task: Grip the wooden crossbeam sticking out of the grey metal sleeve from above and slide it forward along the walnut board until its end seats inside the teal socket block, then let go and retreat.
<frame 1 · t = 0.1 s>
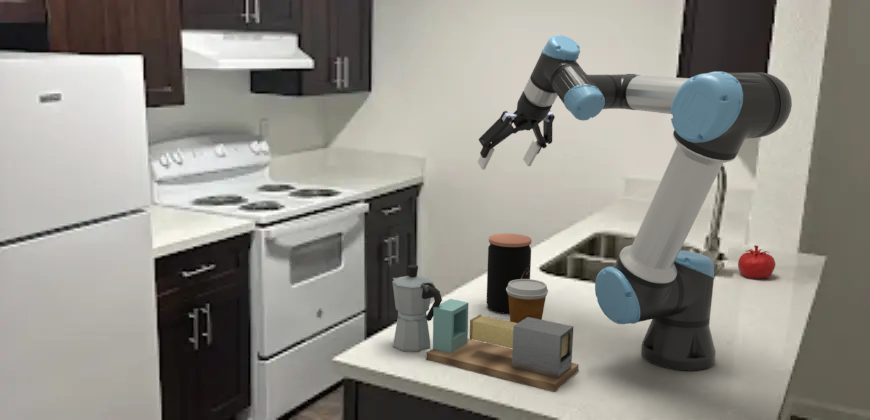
hand: (504, 164, 200), 36 cm above the worktop, tool tilted 35°, fingers open, 13 cm apart
coffee jar: (507, 308, 204), on the worktop
coffee maker: (415, 347, 177), on the worktop
disposable coffee cup: (525, 335, 185), on the worktop
pomegranate: (755, 277, 236), on the worktop
socket: (450, 352, 174), resting on board
board: (501, 365, 167), on the worktop
sleeve: (541, 374, 163), resting on board
wooden crossbeam: (517, 336, 164), point 7 cm above the worktop, slide at 0.0 cm
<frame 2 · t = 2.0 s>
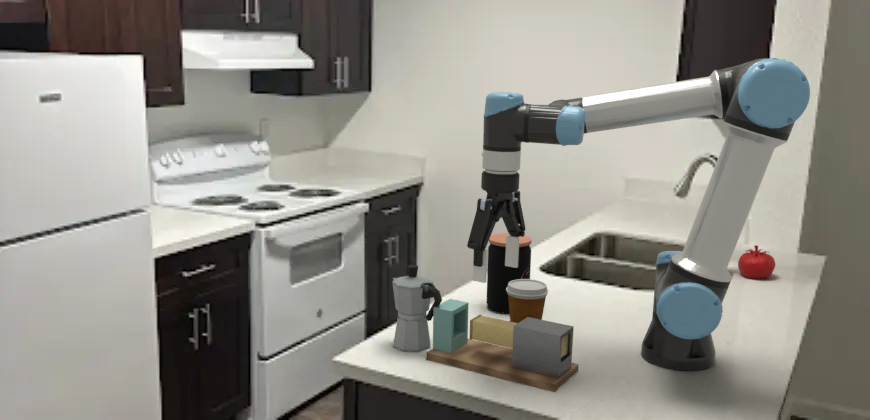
hand: (495, 273, 165), 19 cm above the worktop, tool pointing down, fingers open, 13 cm apart
nothing on the worktop moved.
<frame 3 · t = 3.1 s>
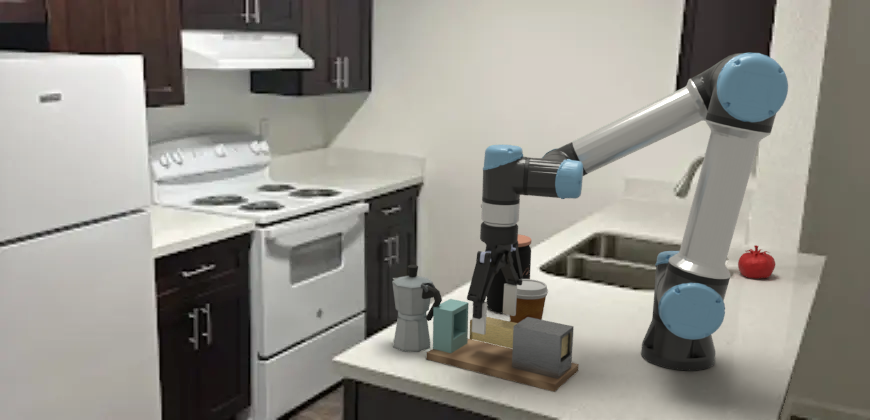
hand: (494, 323, 166), 9 cm above the worktop, tool pointing down, fingers open, 13 cm apart
nothing on the worktop moved.
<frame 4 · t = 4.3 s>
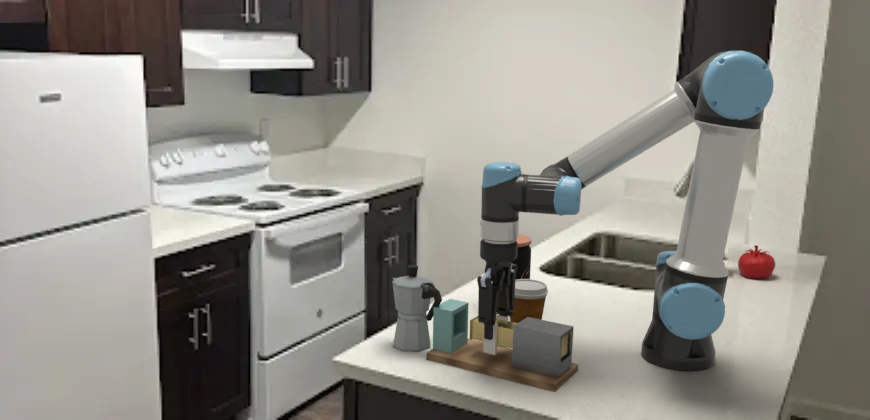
hand: (495, 349, 168), 3 cm above the worktop, tool pointing down, fingers closed on wooden crossbeam, 4 cm apart
wooden crossbeam: (517, 336, 164), point 7 cm above the worktop, slide at 0.0 cm, touching gripper
everything else where it was.
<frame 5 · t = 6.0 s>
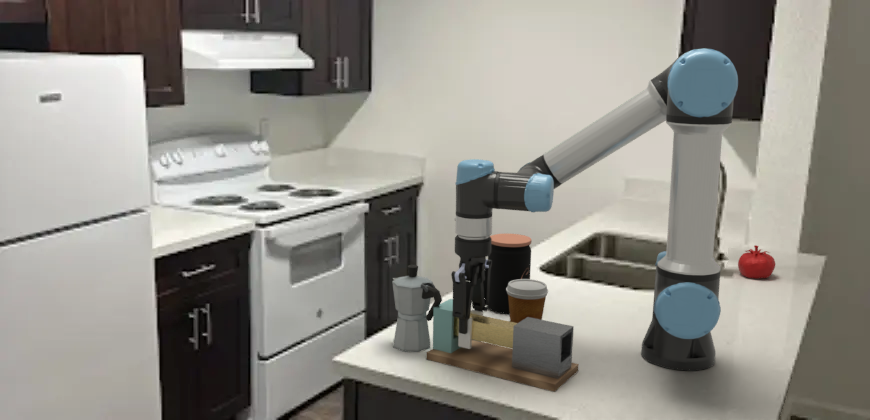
hand: (470, 343, 171), 3 cm above the worktop, tool pointing down, fingers closed on wooden crossbeam, 4 cm apart
wooden crossbeam: (492, 330, 167), point 7 cm above the worktop, slide at 5.9 cm, touching gripper
everything else where it was.
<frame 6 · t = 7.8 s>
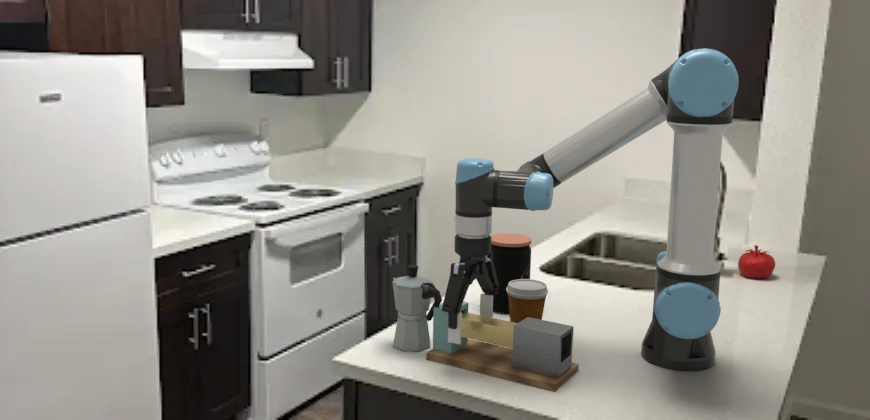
hand: (470, 333, 170), 5 cm above the worktop, tool pointing down, fingers open, 13 cm apart
wooden crossbeam: (491, 330, 167), point 7 cm above the worktop, slide at 6.0 cm
everything else where it was.
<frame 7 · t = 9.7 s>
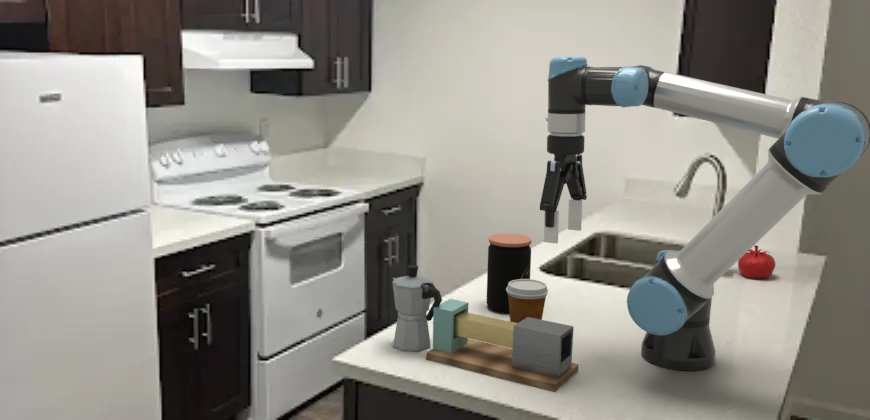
hand: (563, 236, 169), 26 cm above the worktop, tool pointing down, fingers open, 13 cm apart
nothing on the worktop moved.
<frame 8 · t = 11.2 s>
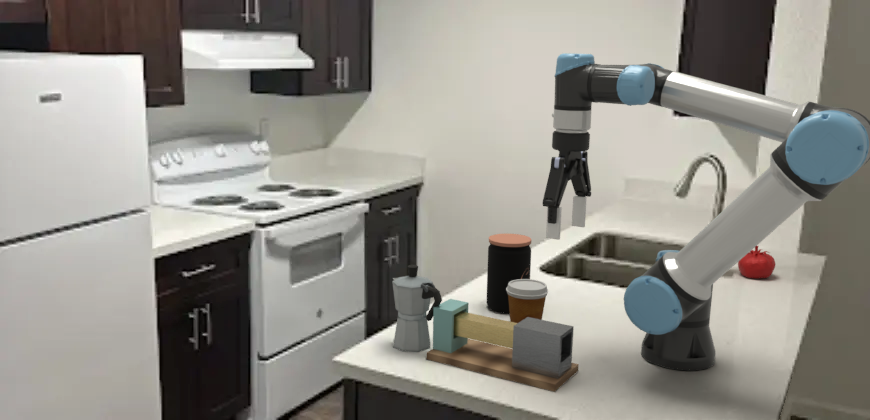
hand: (566, 232, 169), 27 cm above the worktop, tool pointing down, fingers open, 13 cm apart
nothing on the worktop moved.
at the end: wooden crossbeam slide at 6.0 cm; the gripper is holding nothing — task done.
